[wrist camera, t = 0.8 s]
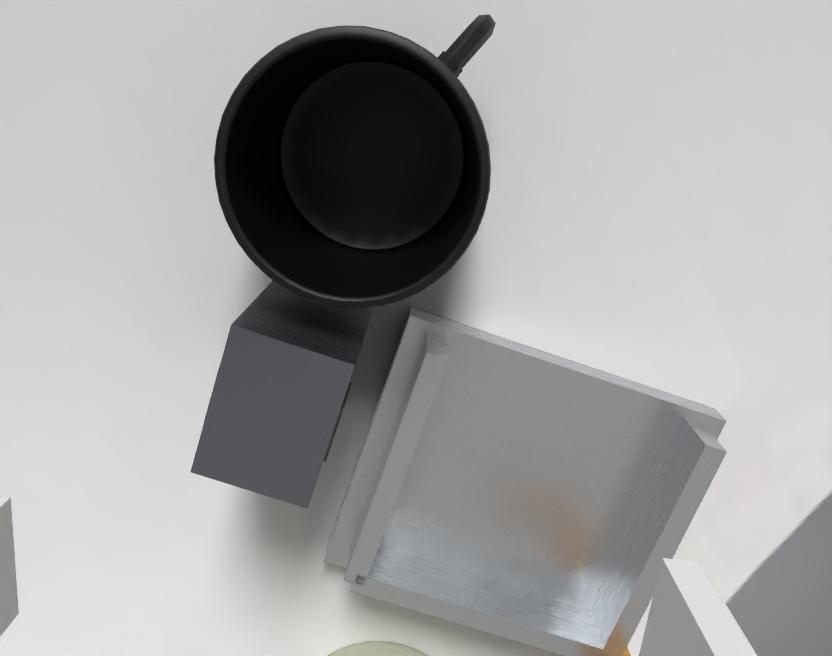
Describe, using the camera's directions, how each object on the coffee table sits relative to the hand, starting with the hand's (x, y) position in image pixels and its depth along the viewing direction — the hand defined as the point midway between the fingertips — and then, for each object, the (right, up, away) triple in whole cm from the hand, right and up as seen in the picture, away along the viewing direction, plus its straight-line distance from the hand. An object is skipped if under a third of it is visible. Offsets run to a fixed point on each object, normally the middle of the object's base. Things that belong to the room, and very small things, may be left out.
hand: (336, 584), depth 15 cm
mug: (0, +14, +18) cm, 23 cm away
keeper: (+7, -3, +23) cm, 24 cm away
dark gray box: (-3, +5, +21) cm, 22 cm away
